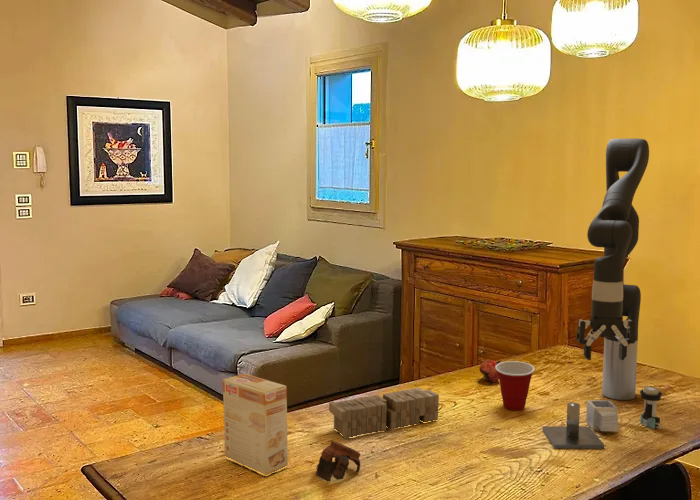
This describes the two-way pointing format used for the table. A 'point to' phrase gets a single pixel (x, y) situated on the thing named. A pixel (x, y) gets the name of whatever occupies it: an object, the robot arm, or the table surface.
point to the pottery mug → (336, 461)
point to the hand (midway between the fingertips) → (604, 359)
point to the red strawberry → (489, 370)
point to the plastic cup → (514, 383)
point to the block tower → (384, 411)
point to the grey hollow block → (602, 415)
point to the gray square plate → (572, 432)
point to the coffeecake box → (255, 422)
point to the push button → (650, 407)
